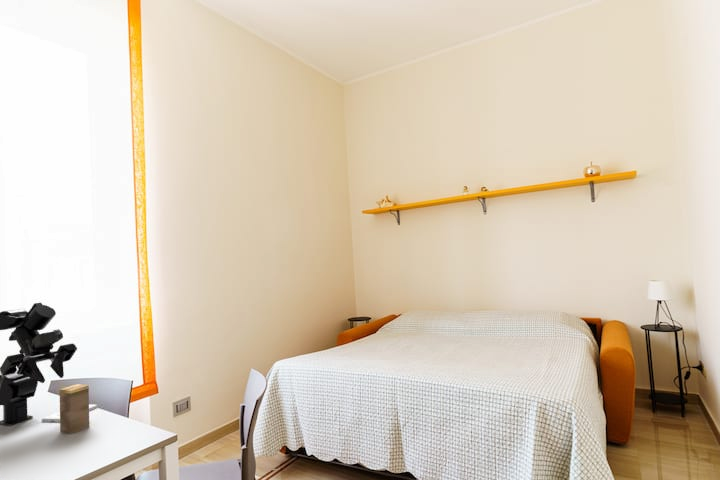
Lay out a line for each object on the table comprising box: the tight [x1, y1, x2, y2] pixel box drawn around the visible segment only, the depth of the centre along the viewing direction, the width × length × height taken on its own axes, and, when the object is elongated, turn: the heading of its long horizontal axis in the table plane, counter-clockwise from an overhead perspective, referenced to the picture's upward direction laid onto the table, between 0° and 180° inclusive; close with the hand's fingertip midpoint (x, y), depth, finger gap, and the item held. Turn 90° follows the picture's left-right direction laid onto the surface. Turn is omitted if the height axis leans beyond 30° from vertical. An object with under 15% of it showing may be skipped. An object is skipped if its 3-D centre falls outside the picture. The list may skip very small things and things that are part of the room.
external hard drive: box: [41, 403, 98, 423], centre depth 133 cm, size 2×8×12 cm
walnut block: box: [59, 383, 90, 435], centre depth 120 cm, size 5×5×12 cm
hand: (53, 379), depth 124 cm, fingers open, 5 cm apart
